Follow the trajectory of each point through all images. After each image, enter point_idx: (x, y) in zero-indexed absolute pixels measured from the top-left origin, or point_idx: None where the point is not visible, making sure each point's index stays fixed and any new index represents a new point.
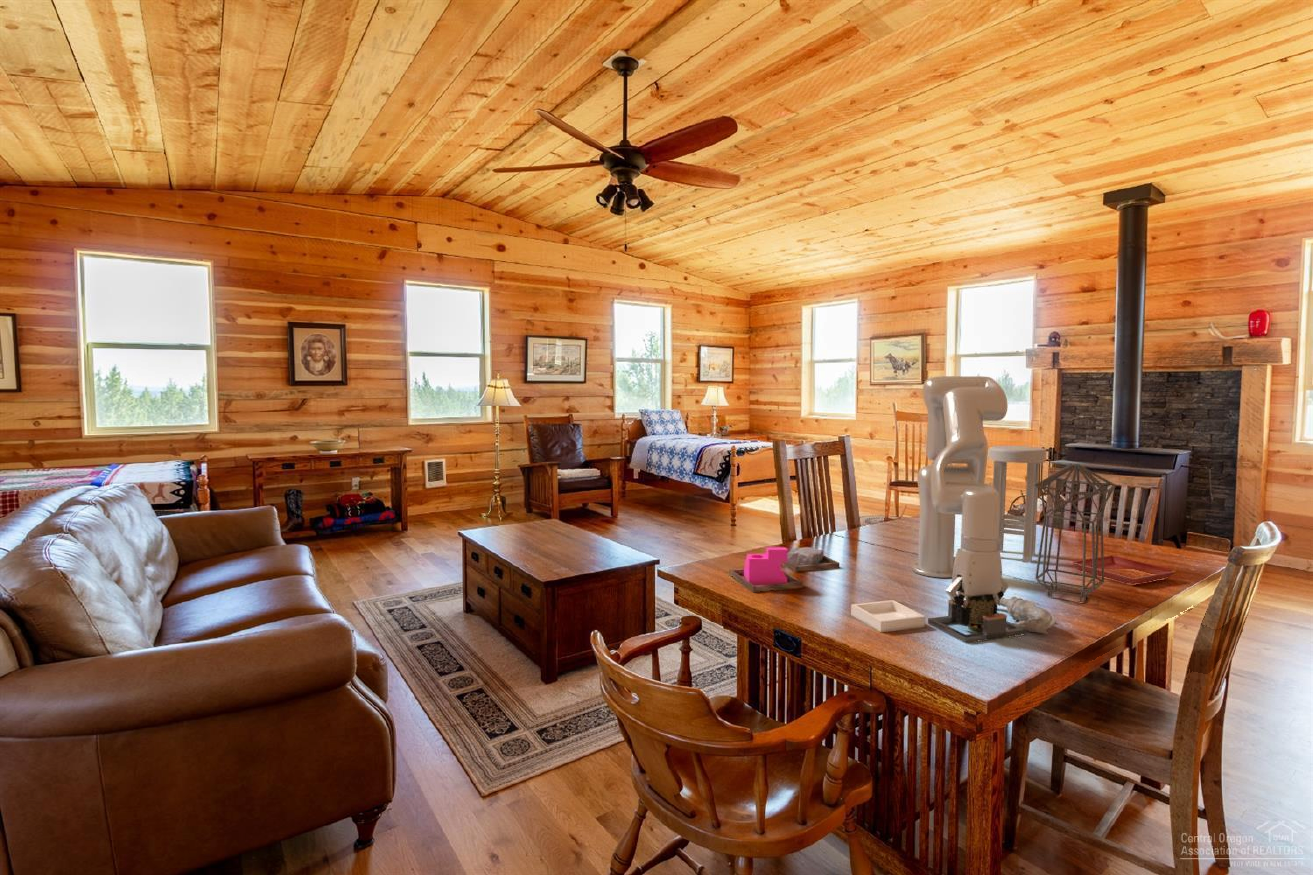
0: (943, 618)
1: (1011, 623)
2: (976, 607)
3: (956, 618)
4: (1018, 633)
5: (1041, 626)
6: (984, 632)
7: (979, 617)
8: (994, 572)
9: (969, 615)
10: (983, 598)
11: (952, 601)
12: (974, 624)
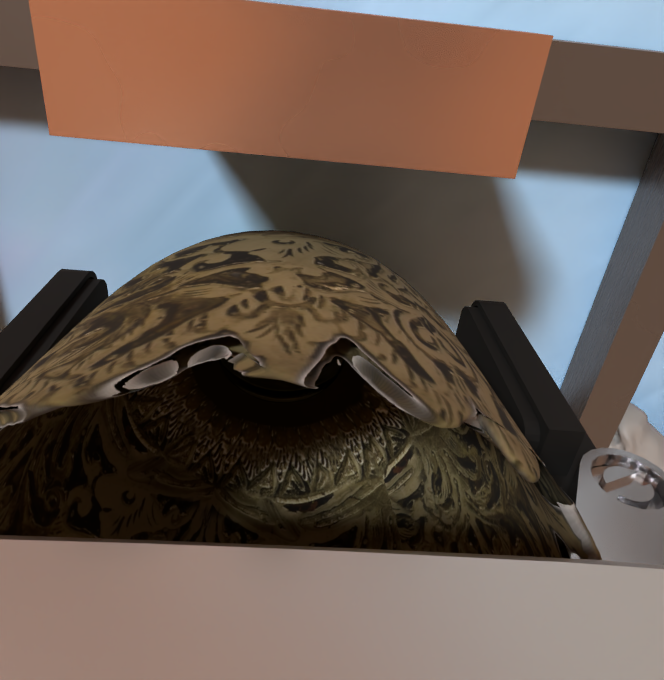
0: (4, 54)
1: (606, 435)
2: None
3: (53, 279)
4: None
5: None
6: None
7: (180, 525)
8: None
9: (101, 465)
10: (517, 482)
11: (61, 112)
12: (221, 378)
